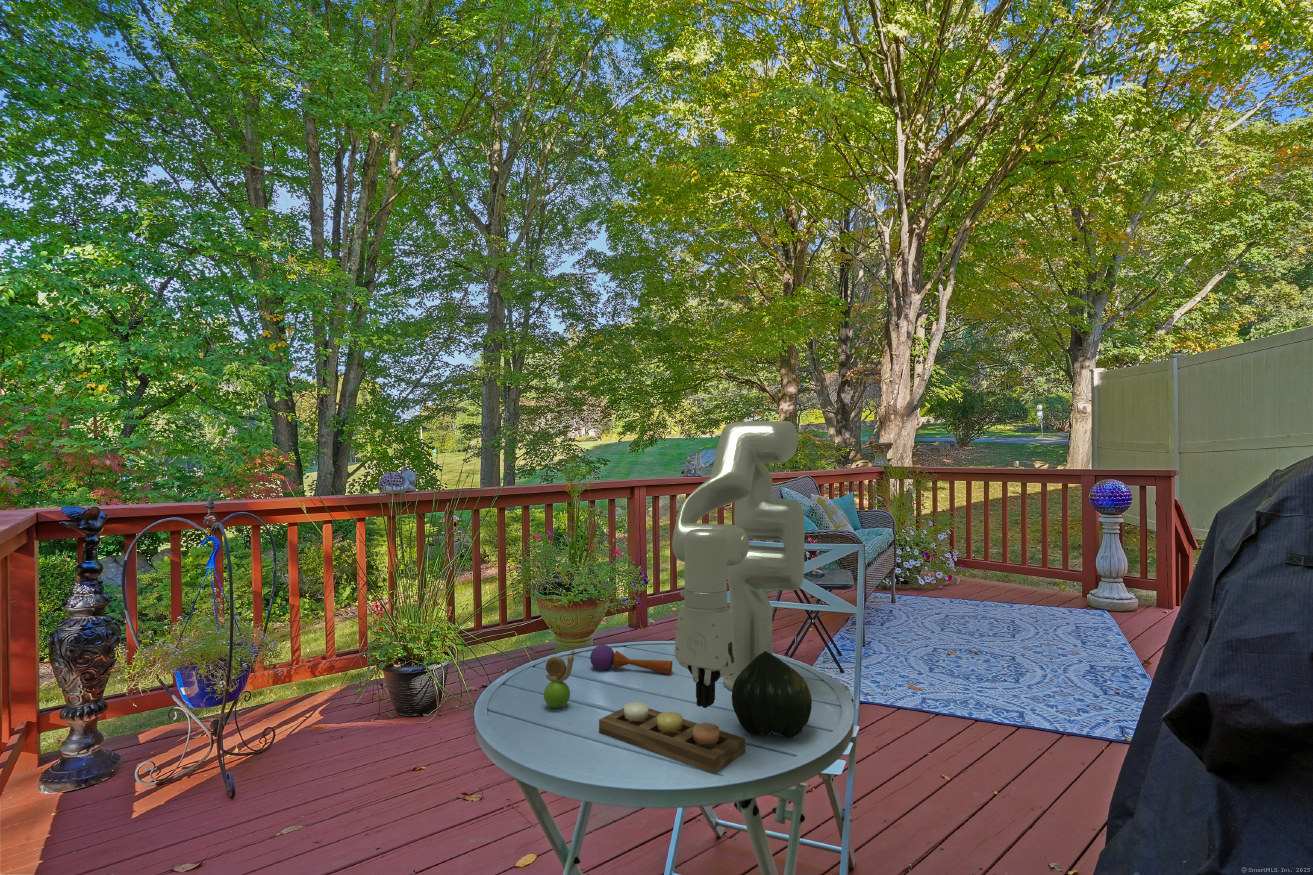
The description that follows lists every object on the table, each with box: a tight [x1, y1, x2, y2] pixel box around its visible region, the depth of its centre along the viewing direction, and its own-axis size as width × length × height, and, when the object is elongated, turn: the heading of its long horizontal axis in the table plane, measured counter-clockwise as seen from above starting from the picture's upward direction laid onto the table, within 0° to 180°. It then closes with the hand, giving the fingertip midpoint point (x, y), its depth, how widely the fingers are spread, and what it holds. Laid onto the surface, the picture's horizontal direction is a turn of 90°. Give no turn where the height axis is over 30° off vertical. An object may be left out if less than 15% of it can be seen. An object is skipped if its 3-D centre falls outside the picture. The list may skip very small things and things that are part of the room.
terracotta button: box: [693, 722, 720, 744], centre depth 116 cm, size 5×5×2 cm
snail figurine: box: [543, 649, 575, 709], centre depth 138 cm, size 5×6×12 cm
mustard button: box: [657, 711, 683, 732], centre depth 121 cm, size 5×5×2 cm
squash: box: [731, 651, 813, 739], centre depth 127 cm, size 14×15×15 cm
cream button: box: [623, 701, 649, 721], centre depth 126 cm, size 5×5×2 cm
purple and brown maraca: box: [589, 644, 673, 676], centre depth 160 cm, size 6×6×20 cm
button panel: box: [598, 707, 746, 775], centre depth 121 cm, size 10×26×2 cm, turn 52°
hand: (705, 704), depth 116 cm, fingers closed
